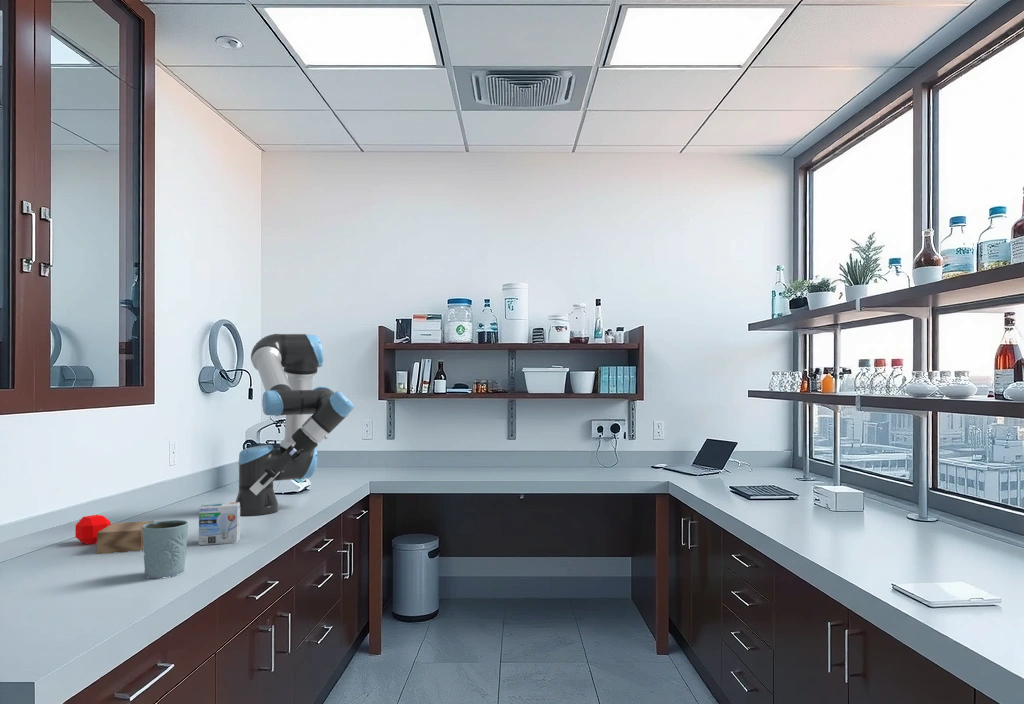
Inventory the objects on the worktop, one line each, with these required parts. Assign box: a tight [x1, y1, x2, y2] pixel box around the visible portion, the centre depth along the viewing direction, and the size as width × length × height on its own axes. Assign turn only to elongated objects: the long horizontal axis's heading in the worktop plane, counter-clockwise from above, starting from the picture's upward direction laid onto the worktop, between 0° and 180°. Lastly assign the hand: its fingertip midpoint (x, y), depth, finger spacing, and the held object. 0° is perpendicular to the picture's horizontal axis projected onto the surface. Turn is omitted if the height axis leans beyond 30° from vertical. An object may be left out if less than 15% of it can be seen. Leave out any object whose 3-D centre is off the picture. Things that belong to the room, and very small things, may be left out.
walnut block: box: [96, 520, 155, 555], centre depth 203 cm, size 11×14×6 cm
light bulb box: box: [198, 501, 241, 546], centre depth 208 cm, size 11×7×11 cm, turn 105°
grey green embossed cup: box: [142, 519, 189, 579], centre depth 172 cm, size 10×10×12 cm
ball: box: [74, 514, 112, 545], centre depth 210 cm, size 8×8×8 cm
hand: (256, 488), depth 210 cm, fingers open, 13 cm apart
